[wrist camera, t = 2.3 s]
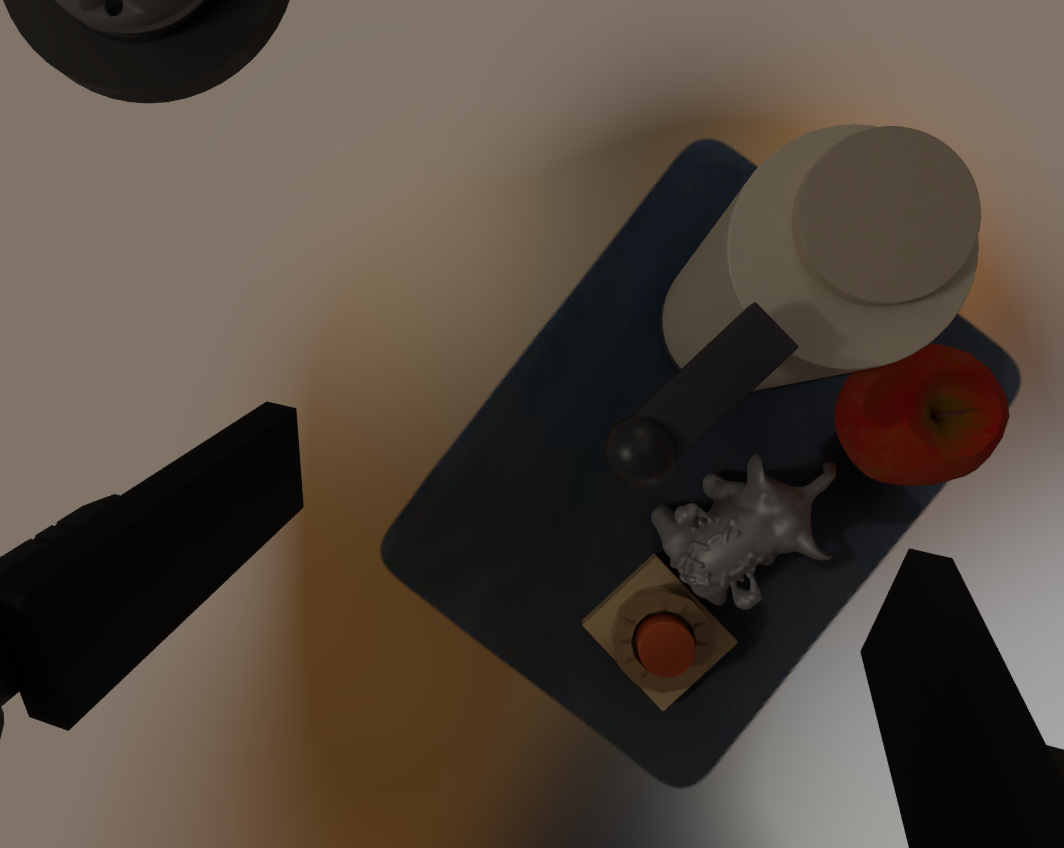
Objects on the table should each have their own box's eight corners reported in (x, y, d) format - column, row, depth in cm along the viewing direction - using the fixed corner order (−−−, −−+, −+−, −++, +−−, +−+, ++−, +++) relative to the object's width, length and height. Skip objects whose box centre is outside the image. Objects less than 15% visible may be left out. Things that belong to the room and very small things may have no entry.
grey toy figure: (627, 540, 46) (640, 562, 38) (728, 401, 45) (761, 395, 38) (736, 618, 45) (771, 657, 37) (838, 479, 45) (894, 489, 37)
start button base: (581, 620, 46) (582, 633, 43) (654, 552, 45) (660, 561, 42) (660, 704, 45) (667, 724, 42) (734, 636, 45) (745, 651, 42)
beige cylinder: (630, 320, 46) (679, 238, 26) (734, 221, 45) (865, 61, 26) (729, 423, 45) (856, 420, 25) (835, 324, 45) (1047, 243, 25)
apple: (845, 502, 45) (934, 526, 34) (777, 399, 45) (843, 390, 34) (952, 434, 44) (1076, 437, 34) (882, 331, 45) (984, 301, 34)
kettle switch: (588, 448, 27) (590, 450, 24) (738, 306, 26) (759, 291, 23) (635, 498, 26) (643, 506, 24) (786, 356, 26) (813, 347, 23)
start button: (624, 639, 43) (626, 648, 41) (664, 602, 43) (668, 609, 41) (662, 679, 43) (666, 690, 41) (701, 642, 43) (707, 651, 41)
